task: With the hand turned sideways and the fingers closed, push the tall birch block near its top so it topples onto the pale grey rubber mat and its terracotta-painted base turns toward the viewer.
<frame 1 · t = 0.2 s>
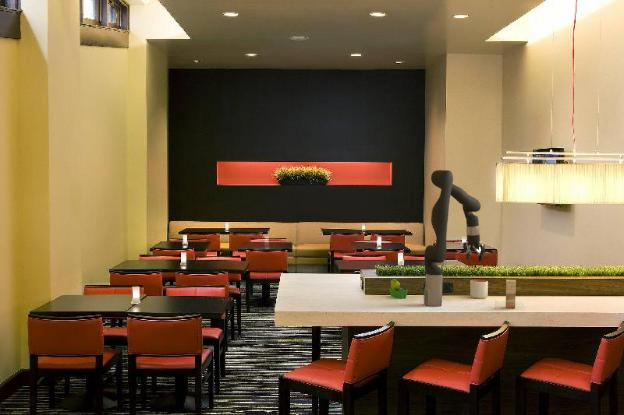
hand: (474, 260, 477), 22 cm above the table, tool pointing down, fingers open, 8 cm apart
block: (510, 307, 446), point 1 cm above the table, touching mat
mat: (509, 306, 454), on the table
cup: (478, 298, 482), on the table
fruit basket: (397, 298, 478), on the table
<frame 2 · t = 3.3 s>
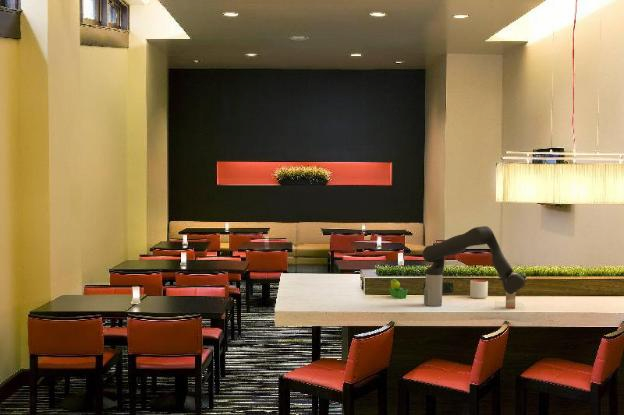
hand: (512, 275, 432), 20 cm above the table, tool horizontal, fingers open, 8 cm apart
nothing on the table moved.
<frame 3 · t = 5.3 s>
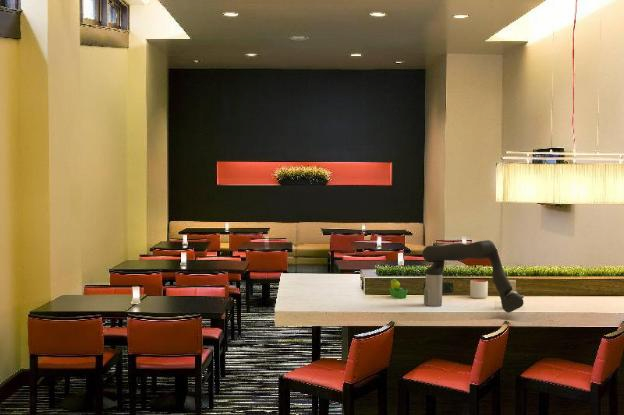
hand: (511, 292, 434), 11 cm above the table, tool horizontal, fingers closed
nothing on the table moved.
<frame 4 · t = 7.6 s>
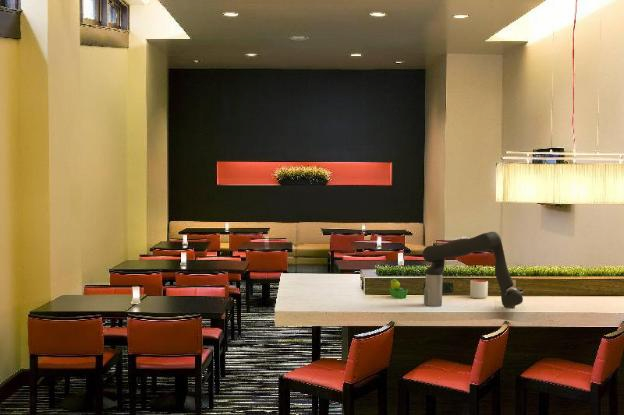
hand: (510, 289, 445), 11 cm above the table, tool horizontal, fingers closed
block: (510, 307, 446), point 1 cm above the table, tilted 8°, touching mat
everything else where it was.
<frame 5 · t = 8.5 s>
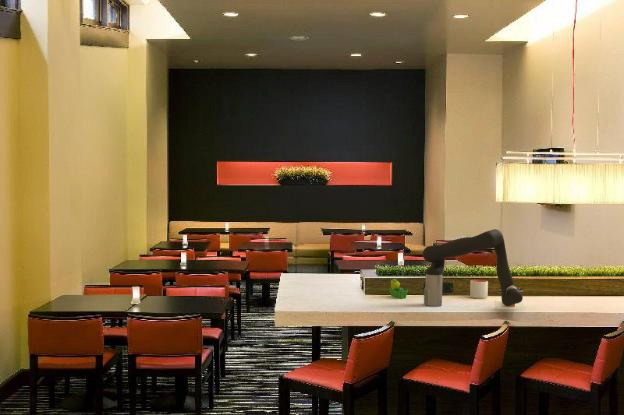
hand: (510, 287, 450), 11 cm above the table, tool horizontal, fingers closed
block: (510, 302, 449), point 3 cm above the table, tilted 90°, touching mat
everything else where it was.
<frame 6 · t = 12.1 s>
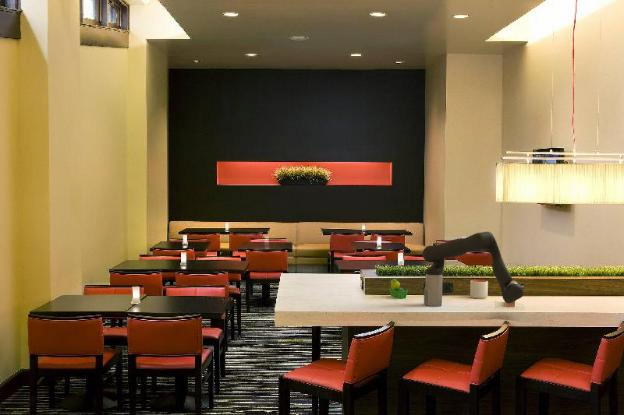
hand: (511, 282, 435), 16 cm above the table, tool horizontal, fingers closed
nothing on the table moved.
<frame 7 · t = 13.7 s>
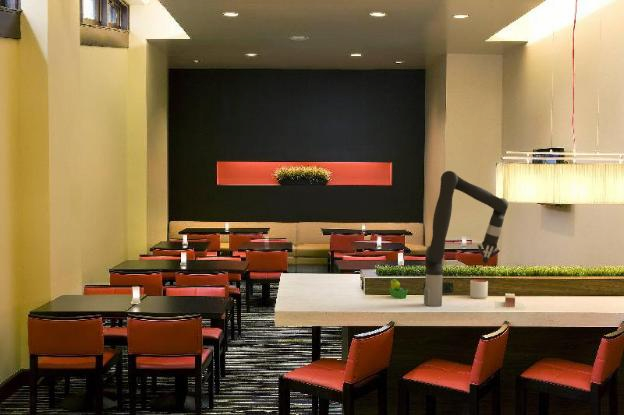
hand: (484, 263, 452), 24 cm above the table, tool tilted 15°, fingers closed
nothing on the table moved.
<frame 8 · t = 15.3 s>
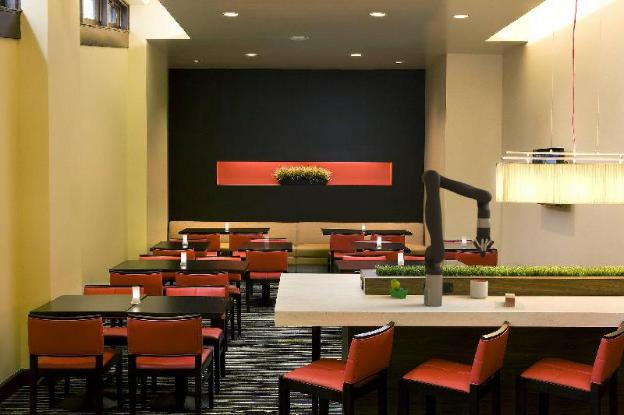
hand: (482, 257, 453), 27 cm above the table, tool pointing down, fingers closed
nothing on the table moved.
at the end: block tilted 90°; block inside the target area on the mat (1.8 cm from its centre), point 3.1 cm above the mat's base; the gripper is holding nothing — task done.
